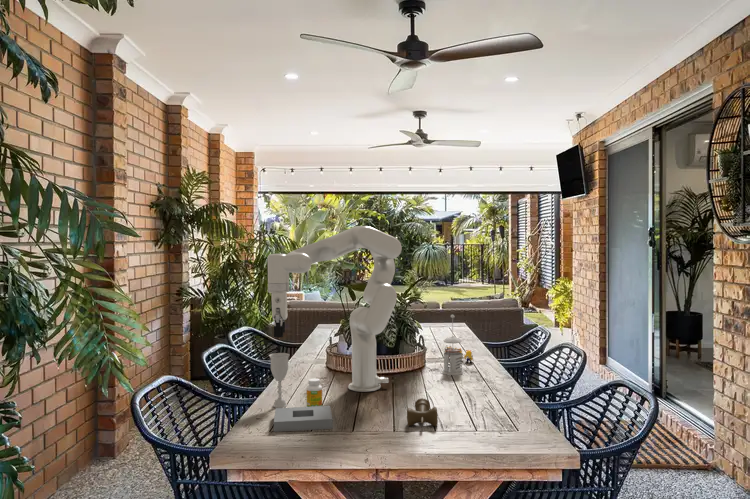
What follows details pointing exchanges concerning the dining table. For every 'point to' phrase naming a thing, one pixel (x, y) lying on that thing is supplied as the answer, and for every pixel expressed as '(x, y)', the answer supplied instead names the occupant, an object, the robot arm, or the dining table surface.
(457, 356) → the french press
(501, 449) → the dining table surface
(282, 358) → the chalice
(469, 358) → the figurine set
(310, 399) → the supplement bottle
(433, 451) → the dining table surface
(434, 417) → the kendama
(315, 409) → the board
